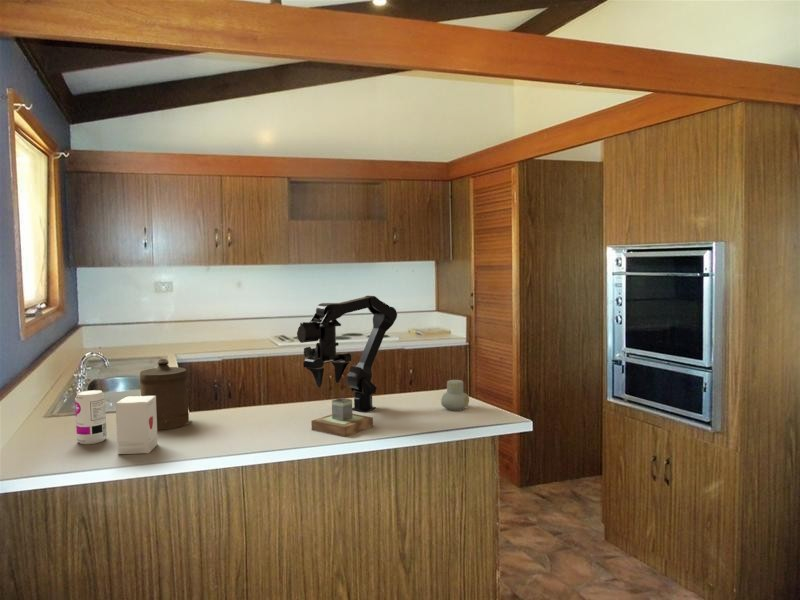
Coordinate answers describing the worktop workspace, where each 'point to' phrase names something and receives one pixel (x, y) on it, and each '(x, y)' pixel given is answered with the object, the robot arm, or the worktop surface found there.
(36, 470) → the worktop surface
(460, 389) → the air freshener
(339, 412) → the grey box
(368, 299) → the robot arm
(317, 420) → the platform
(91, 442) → the supplement can
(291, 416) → the worktop surface
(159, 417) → the wooden container
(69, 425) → the worktop surface
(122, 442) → the supplement box
